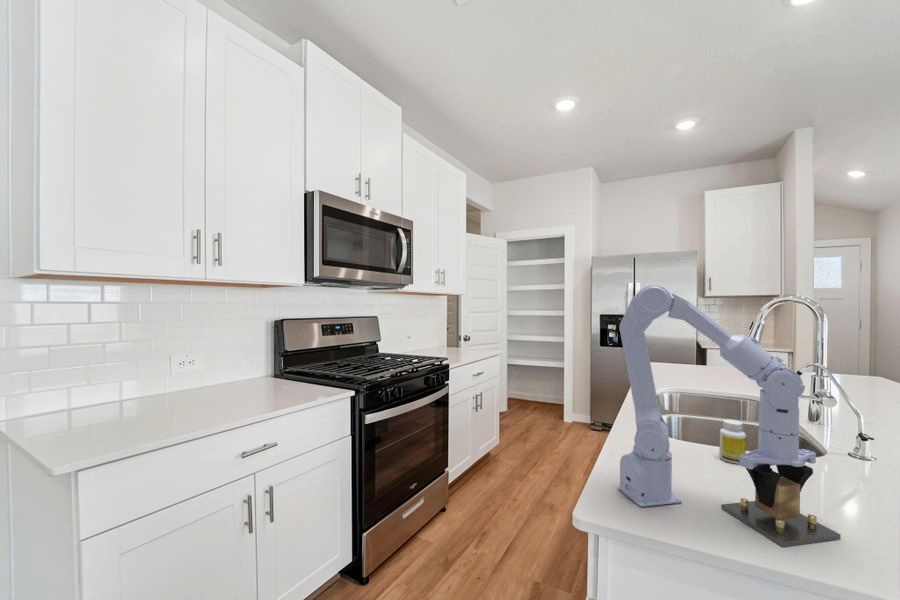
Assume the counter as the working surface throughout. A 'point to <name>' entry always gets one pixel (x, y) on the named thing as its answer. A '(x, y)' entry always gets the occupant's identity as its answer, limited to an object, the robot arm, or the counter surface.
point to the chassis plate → (781, 525)
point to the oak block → (783, 500)
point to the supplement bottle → (732, 441)
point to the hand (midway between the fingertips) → (777, 503)
